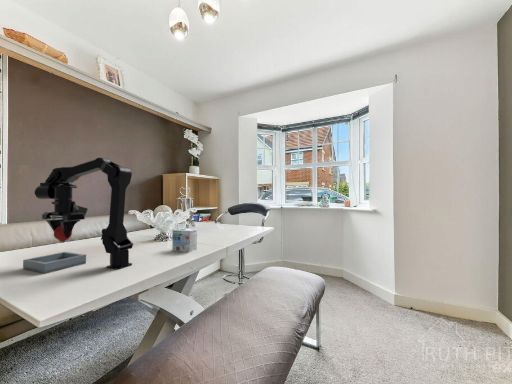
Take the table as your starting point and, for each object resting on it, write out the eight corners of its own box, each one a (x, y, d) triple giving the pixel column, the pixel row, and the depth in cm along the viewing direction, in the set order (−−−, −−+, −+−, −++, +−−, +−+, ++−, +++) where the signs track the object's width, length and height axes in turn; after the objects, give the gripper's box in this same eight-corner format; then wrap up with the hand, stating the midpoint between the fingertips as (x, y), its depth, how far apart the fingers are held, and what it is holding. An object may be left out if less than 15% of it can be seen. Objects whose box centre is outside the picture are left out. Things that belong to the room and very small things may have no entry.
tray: (85, 263, 95) (86, 254, 95) (44, 273, 82) (44, 264, 82) (64, 259, 101) (65, 251, 101) (23, 269, 88) (23, 259, 88)
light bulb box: (171, 250, 117) (171, 229, 117) (179, 248, 123) (179, 227, 123) (190, 252, 114) (190, 230, 114) (197, 249, 120) (197, 228, 120)
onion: (75, 240, 97) (75, 221, 97) (62, 243, 91) (62, 223, 91) (63, 240, 97) (63, 221, 98) (49, 243, 92) (49, 223, 92)
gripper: (98, 198, 98) (98, 235, 98) (71, 198, 106) (71, 232, 105) (68, 199, 88) (68, 240, 88) (41, 199, 95) (41, 236, 95)
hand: (63, 237), depth 94 cm, fingers closed on onion, 6 cm apart
